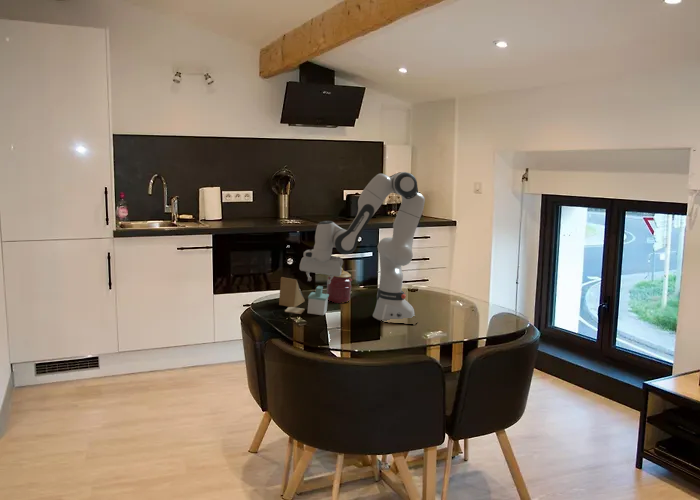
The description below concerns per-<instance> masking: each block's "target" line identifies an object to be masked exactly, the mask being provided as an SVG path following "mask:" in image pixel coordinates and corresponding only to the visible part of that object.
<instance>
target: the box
mask: <svg viewBox="0 0 700 500" xmlns="http://www.w3.org/2000/svg"><path fill="white" fill-rule="evenodd" d="M328 303H329V301H328V298H327V299H326V301H324V300H316V299H309V298H308V301H307V304H308V305H307V313H306V314H311V315H319V316H324V315H326V312H327V310H328Z"/></svg>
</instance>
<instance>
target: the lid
mask: <svg viewBox="0 0 700 500" xmlns="http://www.w3.org/2000/svg"><path fill="white" fill-rule="evenodd" d="M323 289H324V286H322V285H318V286H316V288H315V291H311V292H310V293H309V295H308V296H307V299H308V300H309V299H316V300H324V301H326V299H327V298H328V297H329V294H326V293H323Z"/></svg>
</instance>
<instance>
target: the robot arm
mask: <svg viewBox="0 0 700 500" xmlns="http://www.w3.org/2000/svg"><path fill="white" fill-rule="evenodd" d="M392 193H393V194H395V195H396V194H397V196H398V195H399V196H401V203H400V206H399V209H398V211H397V214H396V216H395V219H394V221H393V224H392V229H393V230H392V236H391V237H384V238H382V239H381V240H380V241H379V242H378V243H377V250H378V254H379V255H378V257H379V266H380V269H379V270H380V275H379V277H380V278H379V286H378V289H377V294H376V304H375V308H374V311H373V313H372V317H373V318H374V319H376V320H377V321H381V320H382V321H387V320H390V319H403V318H412V317H413V316H415V309H414V307H413V306H412V304H410V302H409V301H407V300H406V296H407V295H406V293H405V291H403V281H404V273H403V270H402V267H404V266H407V265H409V264H410V263H411V262H412V261H413V260H412V259H413V255H414V254H413V244H414V236H415V233H416V231H417V228H418V225H419V222H420V219H421V217H422V214H423V210H424V207H425V203H426V200H425V199H426V198H425V196H424V195H423V194H422V193H420V192H419V189H418V181H417V178H416V177H415V175H413V174H412V173H411V172H406V171H401V172H397V173H395V174H392V175H390V176H389V175H387V174H385V173H378V174H377V173H376V175H375V176H374V177H373V178H371V180H369V182H368V184H367V185H365V188H363V190H362V192H361V193H360V194H359V198H358V200H357V207H358V209H357V214H356V216H355V218H354V219H353V221H352V222H351V223H350V225H349V227H348V228H347V229H345V228H342V227H340V226H339V225H338V224H336V222H334V221H333V220H322V221H320V222H318V223H317V225H316V229H315V234H314V245H313V248H312V249H306V250H305V251H303V257H302V258H301V260H300V263H299V270H300V271H301V272H305V274H306V277H307V282H311V281H312V280H313V279H312V276H310V273H315V274H319V275H326V276H330V277H331V278H330V280H328V279H327V280H326V285H327V284H330V283H331V280H332V278H333V277H334V276H340V275H341V271H342V268H343V264H344V260H343V258H342V257H341V256H335V255H332V254H333V248H335V249H336V251H337V252H338V253H340V254H342V255H350V254H352V253H353V252H355V251H356V249H357V246H358V242H359V238H360V236H361V235H362V233H363V232H364V230H365V229H366V227H367V225H368V223H369V222H370V220H371V219H372V217H373V216H374V215H375V213H376V212H377V211H378V210H379V208H380V207H381V206H382V204H384V202H385V201H386V199H387V197H388V196H389V195H391V194H392ZM382 321H381V322H382Z"/></svg>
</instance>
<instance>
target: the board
mask: <svg viewBox="0 0 700 500" xmlns="http://www.w3.org/2000/svg"><path fill="white" fill-rule="evenodd" d="M284 312H285V313H289V314H290V313H292V314H297V315H298V314H299V315H302V313H304V312H305V308H300V307H297V306H296V307H288V306H287V308H286V309H284Z"/></svg>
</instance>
